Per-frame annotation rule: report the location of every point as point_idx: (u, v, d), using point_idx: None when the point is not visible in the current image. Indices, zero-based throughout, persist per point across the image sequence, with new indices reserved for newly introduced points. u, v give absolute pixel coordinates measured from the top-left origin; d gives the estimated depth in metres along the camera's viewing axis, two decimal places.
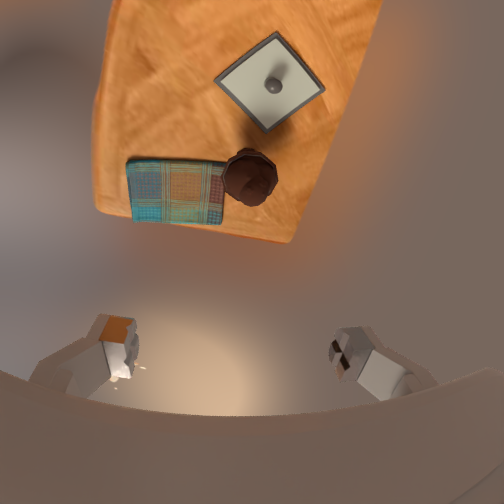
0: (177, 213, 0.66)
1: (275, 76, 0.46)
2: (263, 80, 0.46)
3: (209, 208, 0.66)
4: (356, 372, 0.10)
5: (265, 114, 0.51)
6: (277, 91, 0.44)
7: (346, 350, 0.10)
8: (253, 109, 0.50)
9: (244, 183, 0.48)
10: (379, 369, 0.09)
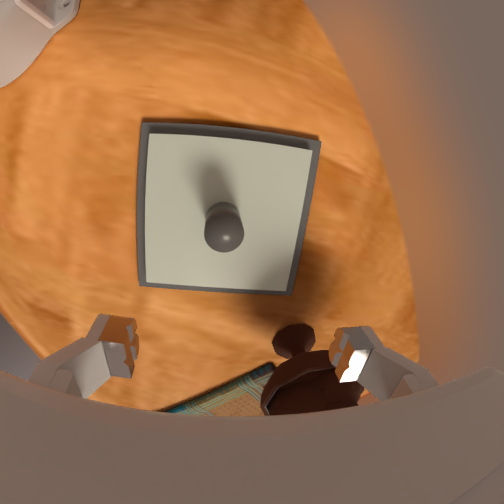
0: None
1: (216, 199, 0.24)
2: (204, 225, 0.24)
3: None
4: (356, 372, 0.10)
5: (262, 273, 0.27)
6: (237, 237, 0.21)
7: (346, 351, 0.10)
8: (236, 282, 0.27)
9: None
10: (379, 369, 0.09)
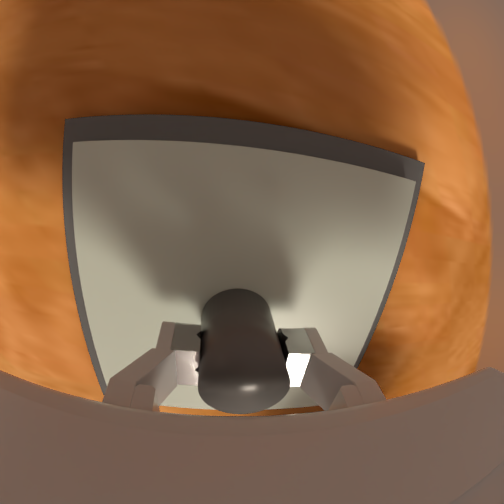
0: None
1: (221, 285, 0.11)
2: None
3: None
4: (297, 377, 0.09)
5: (302, 390, 0.14)
6: (275, 391, 0.08)
7: (283, 353, 0.09)
8: None
9: None
10: (320, 376, 0.09)
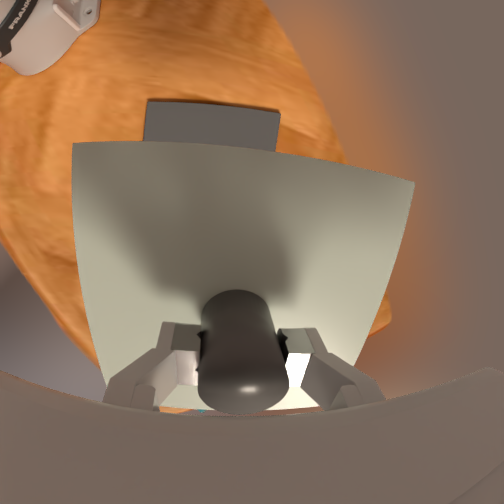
0: None
1: (221, 286, 0.11)
2: None
3: None
4: (297, 377, 0.09)
5: (301, 390, 0.14)
6: (274, 392, 0.08)
7: (283, 353, 0.09)
8: None
9: None
10: (320, 376, 0.09)
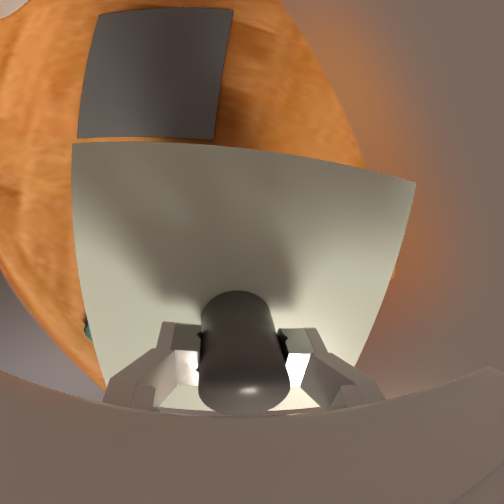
0: None
1: (221, 287, 0.11)
2: None
3: None
4: (297, 377, 0.09)
5: (302, 391, 0.14)
6: (275, 394, 0.08)
7: (283, 353, 0.09)
8: None
9: None
10: (320, 376, 0.09)
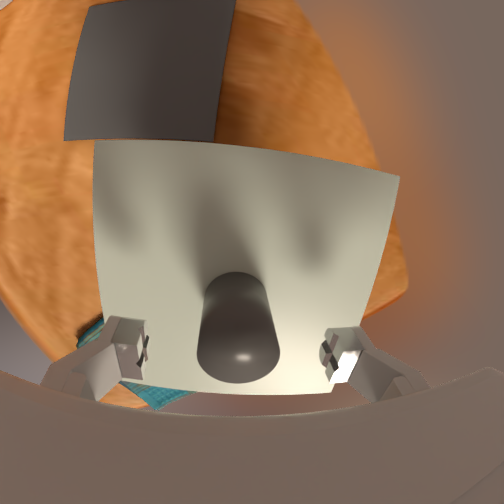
0: None
1: (222, 268, 0.13)
2: (201, 310, 0.13)
3: None
4: (346, 373, 0.10)
5: (298, 375, 0.15)
6: (266, 360, 0.10)
7: (335, 351, 0.10)
8: (256, 387, 0.16)
9: None
10: (369, 370, 0.09)
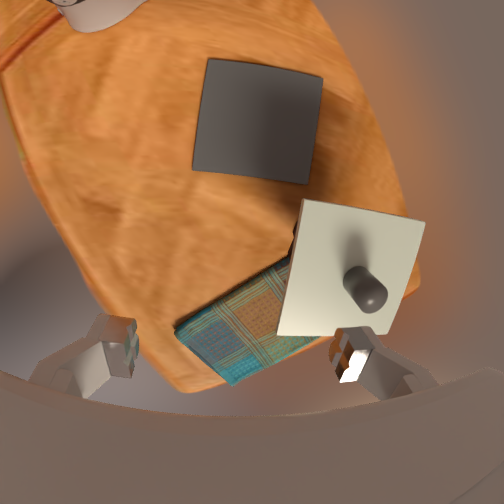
0: (275, 349, 0.47)
1: (354, 264, 0.26)
2: (340, 285, 0.26)
3: None
4: (356, 372, 0.10)
5: (374, 322, 0.29)
6: (382, 301, 0.23)
7: (346, 350, 0.10)
8: None
9: None
10: (379, 369, 0.09)
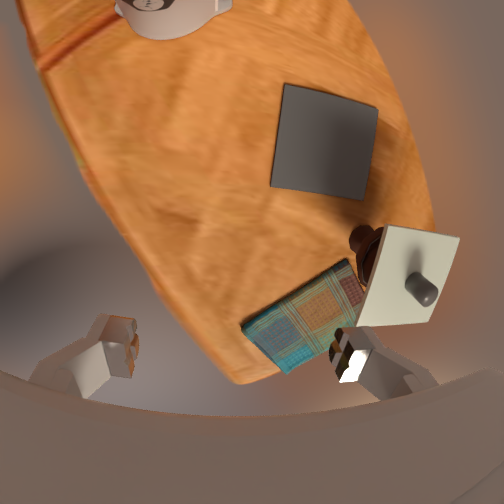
0: (326, 338, 0.54)
1: (413, 270, 0.32)
2: (403, 286, 0.32)
3: (355, 312, 0.52)
4: (356, 372, 0.10)
5: (420, 312, 0.35)
6: (434, 297, 0.29)
7: (346, 350, 0.10)
8: (406, 319, 0.35)
9: None
10: (379, 369, 0.09)
